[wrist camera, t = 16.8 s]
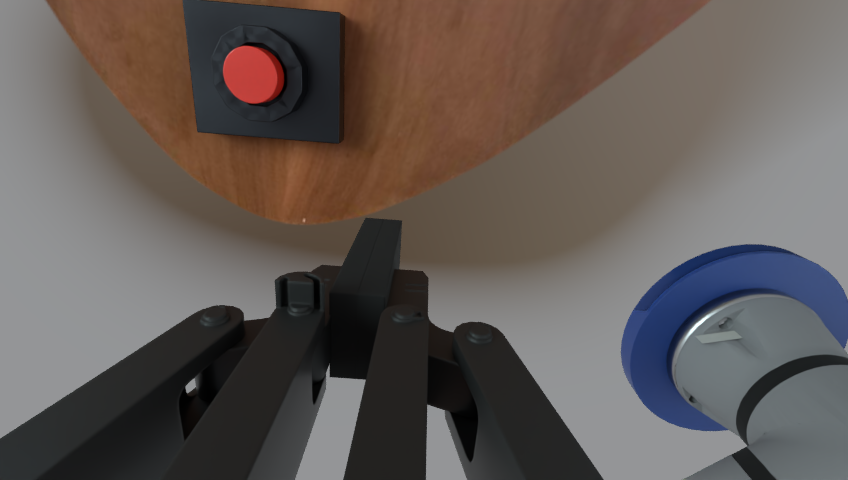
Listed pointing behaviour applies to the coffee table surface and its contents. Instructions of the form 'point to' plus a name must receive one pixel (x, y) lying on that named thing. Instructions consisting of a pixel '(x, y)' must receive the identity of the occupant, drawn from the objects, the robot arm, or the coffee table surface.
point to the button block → (298, 55)
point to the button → (253, 74)
